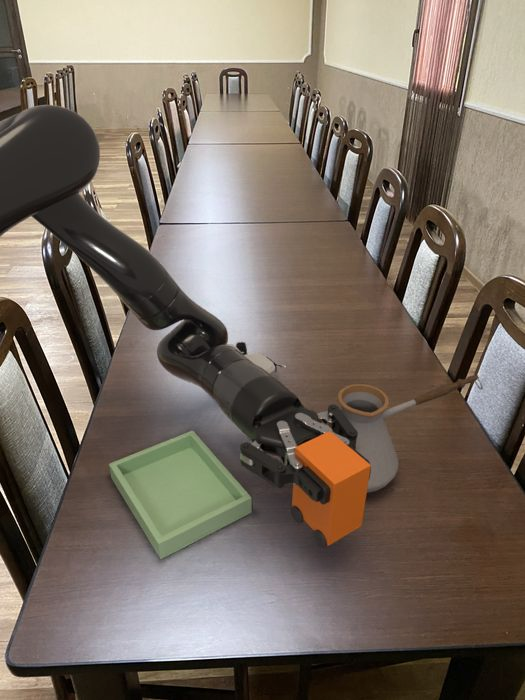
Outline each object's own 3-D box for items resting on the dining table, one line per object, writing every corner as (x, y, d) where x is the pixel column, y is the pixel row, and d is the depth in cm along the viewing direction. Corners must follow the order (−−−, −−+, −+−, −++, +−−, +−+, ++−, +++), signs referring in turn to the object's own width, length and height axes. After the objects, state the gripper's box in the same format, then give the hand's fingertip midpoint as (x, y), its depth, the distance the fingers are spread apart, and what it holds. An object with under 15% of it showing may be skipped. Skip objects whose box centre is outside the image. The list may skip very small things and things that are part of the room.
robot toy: (186, 371, 97) (224, 410, 86) (183, 349, 95) (223, 385, 84) (245, 353, 103) (288, 387, 91) (244, 332, 101) (288, 364, 89)
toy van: (362, 530, 59) (373, 463, 54) (325, 553, 57) (332, 485, 52) (324, 493, 64) (330, 428, 59) (287, 512, 62) (290, 446, 56)
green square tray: (251, 512, 68) (251, 497, 67) (160, 559, 62) (158, 544, 61) (193, 444, 79) (192, 430, 78) (111, 478, 73) (108, 463, 72)
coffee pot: (322, 509, 69) (331, 416, 61) (303, 449, 78) (309, 362, 71) (479, 492, 71) (506, 401, 64) (441, 436, 81) (462, 351, 73)
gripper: (202, 395, 61) (293, 488, 49) (302, 358, 68) (403, 432, 56) (205, 446, 65) (290, 543, 53) (300, 406, 72) (393, 484, 60)
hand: (347, 485), depth 54 cm, fingers closed on toy van, 4 cm apart
